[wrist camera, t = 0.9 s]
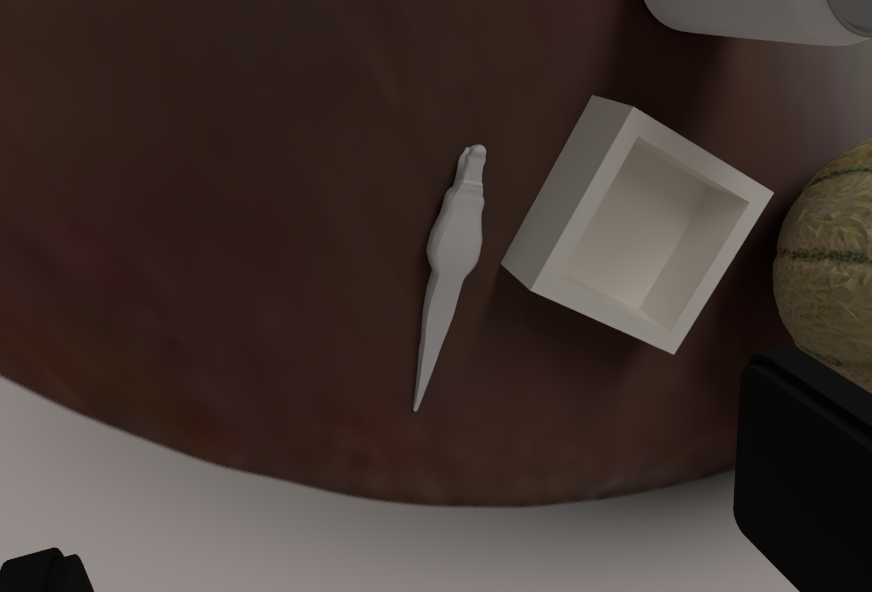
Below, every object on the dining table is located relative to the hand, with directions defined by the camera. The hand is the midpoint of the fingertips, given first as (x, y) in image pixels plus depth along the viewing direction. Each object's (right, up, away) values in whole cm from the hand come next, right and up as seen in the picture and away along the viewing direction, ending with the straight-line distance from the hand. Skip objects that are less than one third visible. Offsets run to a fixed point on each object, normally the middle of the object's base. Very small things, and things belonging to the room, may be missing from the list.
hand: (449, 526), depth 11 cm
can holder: (+9, +7, +31) cm, 33 cm away
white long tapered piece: (0, +4, +29) cm, 30 cm away
